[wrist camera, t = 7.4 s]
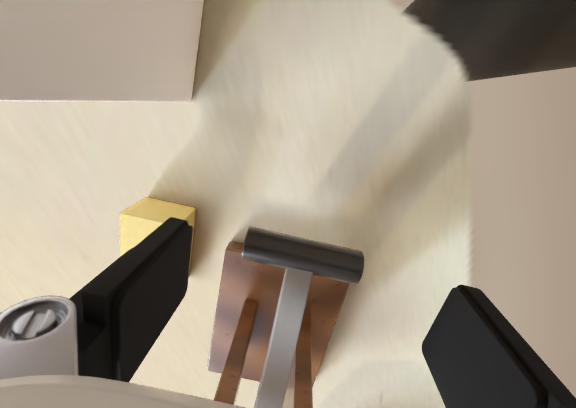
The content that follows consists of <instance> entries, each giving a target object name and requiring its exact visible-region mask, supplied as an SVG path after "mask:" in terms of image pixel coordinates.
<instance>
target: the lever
mask: <svg viewBox="0 0 576 408" xmlns="http://www.w3.org/2000/svg"><path fill="white" fill-rule="evenodd" d="M242 259H243V260H248V261H252V262H257V263H261V264H266V265H270V266H275V267H279V268H284V269H285V274H284V278H283V283H282V287H281V291H280V296H279V300H278V305H277V309H276V313H275V318H274V322H273V327H272V331H271V335H270V340H269V344H268V349H267V353H266V357H265V362H264V366H263V371H262V375H261V379H260V384H259V388H258V393H257V397H256V401H255V406H254V408H282V407H283V402H284V398H285V393H286V389H287V385H288V380H289V376H290V371H291V367H292V363H293V358H294V354H295V349H296V345H297V341H298V336H299V332H300V327H301V323H302V319H303V314H304V310H305V306H306V301H307V297H308V292H309V288H310V284H311V279H312V275H315V276H320V277H324V278H329V279H333V280H337V281H342V282H346V283H351V284H357V283H358V282H359V281H360V279H361V276H362V273H363V268H364V256H363V253H362V252H361V251H358V250H353V249H349V248H344V247H340V246H335V245H331V244H327V243H322V242H318V241H313V240H309V239H304V238H300V237H296V236H291V235H287V234H282V233H278V232H273V231H269V230H264V229H260V228H256V227H249V229H248V231H247V234H246V238H245V241H244V246H243V251H242Z"/></svg>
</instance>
